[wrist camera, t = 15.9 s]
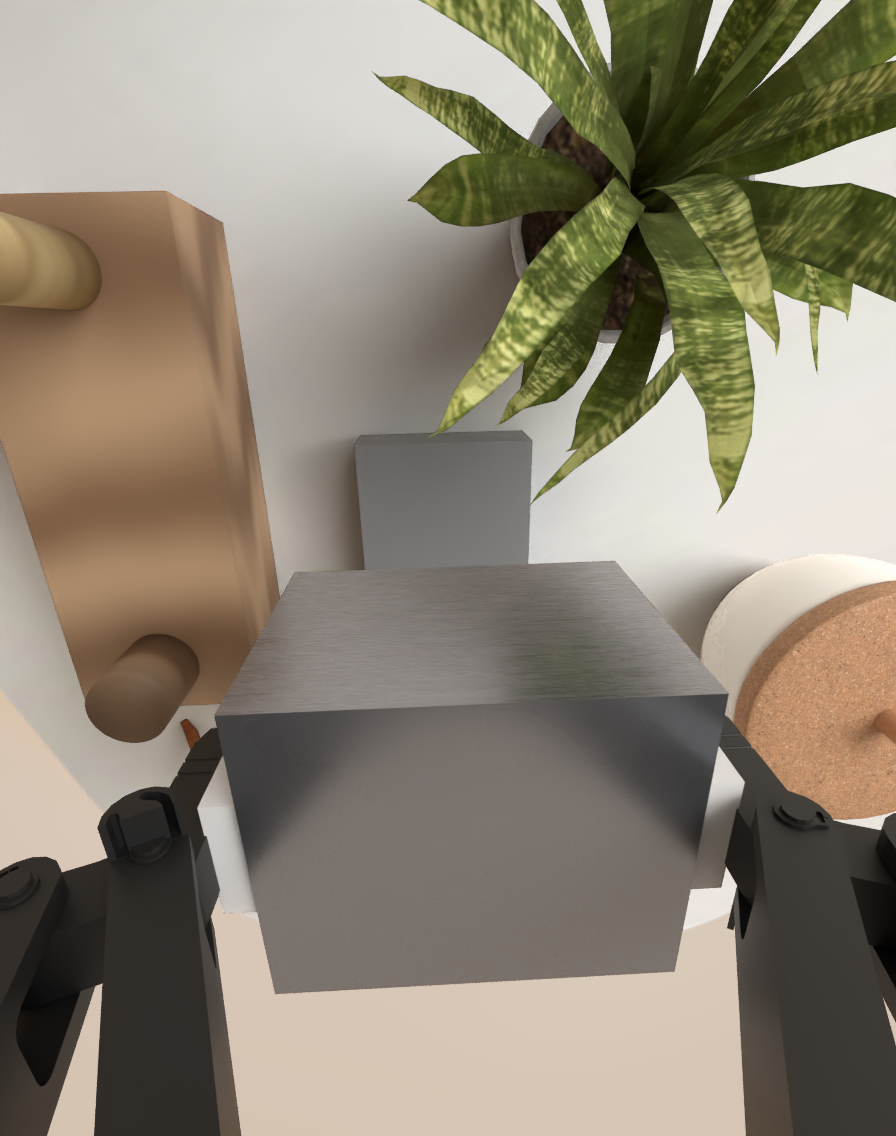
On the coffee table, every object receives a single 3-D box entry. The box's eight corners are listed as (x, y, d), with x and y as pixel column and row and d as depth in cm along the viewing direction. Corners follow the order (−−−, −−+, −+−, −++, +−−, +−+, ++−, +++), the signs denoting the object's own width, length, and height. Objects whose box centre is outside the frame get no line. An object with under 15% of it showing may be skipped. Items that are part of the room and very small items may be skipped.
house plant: (301, 85, 20) (-108, -748, 5) (685, -120, 18) (2035, -2472, 3) (458, 459, 25) (511, 651, 10) (767, 326, 23) (1402, 309, 8)
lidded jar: (665, 721, 31) (759, 872, 22) (665, 539, 27) (781, 637, 18) (861, 693, 31) (1033, 835, 22) (892, 505, 27) (1119, 588, 18)
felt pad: (360, 435, 24) (354, 445, 22) (522, 430, 24) (532, 440, 22) (377, 638, 28) (373, 665, 26) (516, 632, 28) (524, 659, 26)
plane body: (32, 226, 21) (-411, 102, 10) (222, 222, 21) (-1, 97, 10) (144, 647, 28) (-43, 854, 17) (286, 641, 28) (196, 842, 17)
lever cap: (294, 572, 15) (214, 715, 9) (614, 560, 15) (729, 693, 9) (323, 783, 17) (275, 993, 12) (595, 770, 17) (674, 971, 12)
